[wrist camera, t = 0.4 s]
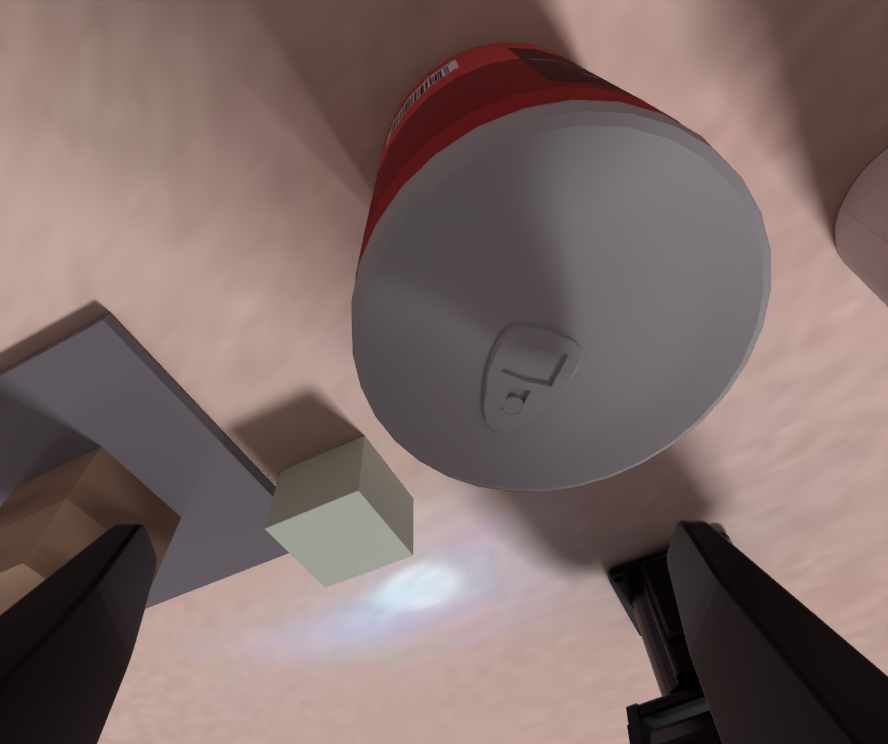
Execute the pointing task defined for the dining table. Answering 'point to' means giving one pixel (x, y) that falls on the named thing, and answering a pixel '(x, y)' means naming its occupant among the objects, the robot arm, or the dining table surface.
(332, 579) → the sage block
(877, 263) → the dixie cup
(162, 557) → the tower base
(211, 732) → the dining table surface
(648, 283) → the canned food
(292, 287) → the dining table surface
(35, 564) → the tower top
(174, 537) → the plate
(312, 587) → the dining table surface
